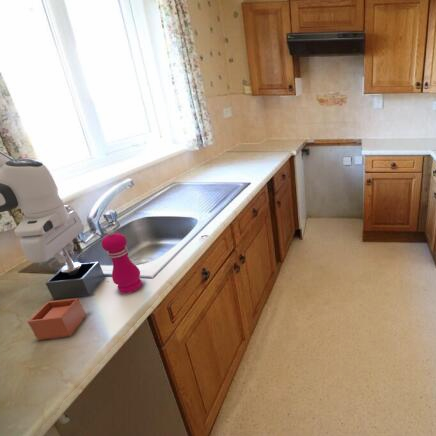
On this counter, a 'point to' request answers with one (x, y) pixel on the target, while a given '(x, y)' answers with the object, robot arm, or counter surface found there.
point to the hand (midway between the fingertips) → (67, 259)
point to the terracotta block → (56, 312)
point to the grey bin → (76, 281)
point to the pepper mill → (121, 263)
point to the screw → (69, 264)
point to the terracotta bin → (57, 319)
